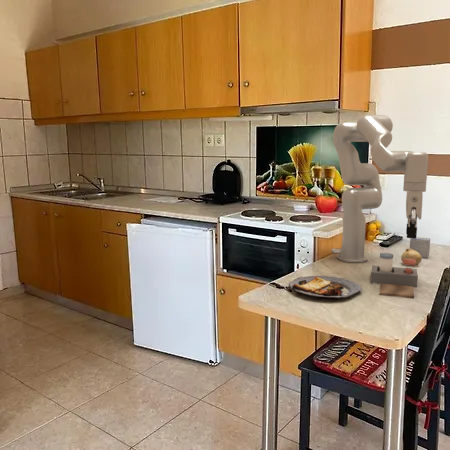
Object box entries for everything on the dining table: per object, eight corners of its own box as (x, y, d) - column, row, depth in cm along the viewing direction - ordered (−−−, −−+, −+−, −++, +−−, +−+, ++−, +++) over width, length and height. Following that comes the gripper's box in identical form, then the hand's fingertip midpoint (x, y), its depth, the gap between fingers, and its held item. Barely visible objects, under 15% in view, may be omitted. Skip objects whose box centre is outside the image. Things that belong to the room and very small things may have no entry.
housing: (370, 282, 174) (371, 272, 173) (371, 275, 183) (372, 265, 183) (417, 286, 169) (417, 276, 168) (415, 279, 178) (416, 269, 177)
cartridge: (378, 281, 176) (379, 255, 174) (378, 277, 180) (380, 252, 178) (391, 282, 174) (393, 256, 172) (391, 279, 179) (393, 253, 177)
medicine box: (429, 256, 212) (430, 238, 211) (427, 258, 209) (429, 239, 207) (410, 254, 216) (412, 236, 215) (408, 256, 213) (410, 237, 211)
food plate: (335, 307, 148) (336, 296, 148) (275, 292, 164) (276, 282, 163) (371, 290, 166) (371, 281, 166) (314, 278, 182) (314, 269, 181)
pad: (379, 294, 160) (379, 292, 160) (380, 285, 171) (380, 283, 170) (414, 298, 157) (414, 296, 157) (412, 288, 167) (413, 286, 167)
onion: (417, 262, 202) (419, 246, 201) (423, 267, 195) (424, 251, 193) (398, 262, 203) (399, 246, 202) (403, 267, 195) (404, 250, 194)
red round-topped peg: (401, 278, 173) (403, 260, 172) (401, 274, 177) (402, 257, 176) (414, 279, 171) (416, 261, 170) (414, 275, 175) (415, 258, 174)
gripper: (427, 189, 159) (423, 241, 162) (424, 185, 175) (420, 232, 178) (404, 189, 161) (400, 240, 165) (402, 184, 177) (399, 231, 181)
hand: (411, 235), depth 171 cm, fingers open, 6 cm apart
